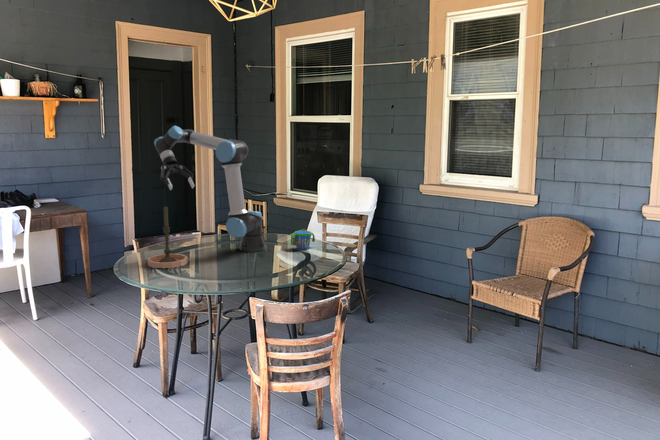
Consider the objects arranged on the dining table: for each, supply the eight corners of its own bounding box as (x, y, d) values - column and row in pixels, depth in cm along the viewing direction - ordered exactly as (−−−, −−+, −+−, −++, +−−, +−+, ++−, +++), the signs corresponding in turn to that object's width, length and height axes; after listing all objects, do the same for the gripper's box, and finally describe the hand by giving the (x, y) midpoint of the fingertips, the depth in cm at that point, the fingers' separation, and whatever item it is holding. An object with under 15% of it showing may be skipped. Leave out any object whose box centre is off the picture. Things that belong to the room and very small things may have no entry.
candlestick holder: (171, 264, 274) (169, 207, 268) (155, 263, 275) (152, 206, 270) (179, 260, 282) (177, 205, 277) (164, 259, 284) (162, 204, 279)
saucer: (188, 258, 291) (188, 253, 290) (186, 267, 271) (185, 262, 271) (150, 259, 287) (150, 254, 286) (145, 269, 267) (145, 263, 267)
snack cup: (311, 245, 325) (311, 229, 323) (318, 249, 316) (318, 232, 314) (287, 248, 318) (287, 231, 317) (294, 251, 309) (294, 234, 307)
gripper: (186, 163, 317) (199, 190, 309) (146, 164, 300) (159, 193, 292) (190, 154, 312) (204, 182, 304) (150, 156, 295) (163, 184, 287)
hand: (182, 187), depth 298 cm, fingers open, 13 cm apart
